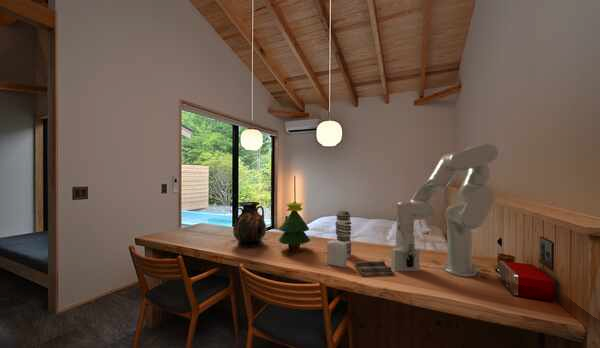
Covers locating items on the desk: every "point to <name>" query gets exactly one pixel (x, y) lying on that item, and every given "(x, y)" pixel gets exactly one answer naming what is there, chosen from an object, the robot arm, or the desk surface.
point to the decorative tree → (294, 228)
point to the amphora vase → (249, 225)
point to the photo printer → (336, 253)
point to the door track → (373, 269)
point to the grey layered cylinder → (344, 229)
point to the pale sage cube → (403, 260)
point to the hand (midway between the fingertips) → (405, 263)
